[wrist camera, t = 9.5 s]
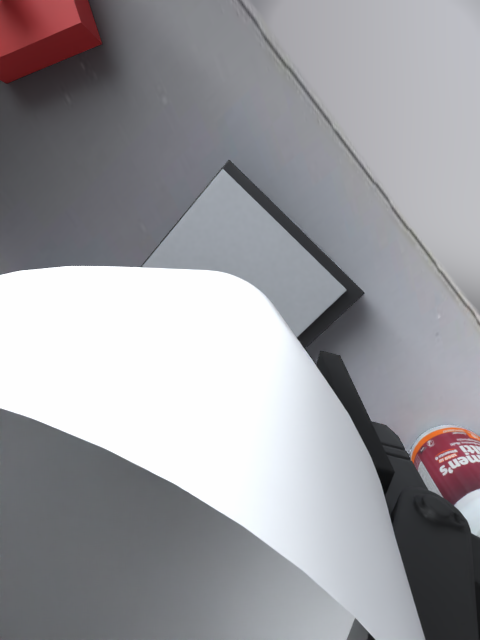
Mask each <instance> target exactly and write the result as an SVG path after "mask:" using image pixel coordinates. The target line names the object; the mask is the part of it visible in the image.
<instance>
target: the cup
mask: <svg viewBox="0 0 480 640" xmlns="http://www.w3.org/2000/svg"><path fill="white" fill-rule="evenodd" d="M355 618H356V619H357V620H358V621H359V622H360V623H361V625H362V626H363V627H364V628H365V629H366V630H367V631H368V632H369V633H370V634H371V635H372V636H373V638H374V639H375V640H425V636H424V633H423V630H422V627H421V623H420V620H419V617H418V613H417V610H416V606H415V603H414V600H413V596H412V593H411V589H410V586H409V583H408V579H407V576H406V572H405V569H404V565H403V562H402V559H401V555H400V552H399V548H398V545H397V542H396V538H395V534H394V531H393V527H392V523H391V519H390V515H389V511H388V507H387V503H386V500H385V496H384V492H383V489H382V485H381V482H380V479H379V477H378V474H377V471H376V469H375V466H374V464H373V461H372V458H371V456H370V454H369V452H368V450H367V448H366V446H365V444H364V442H363V440H362V438H361V437H360V435H359V433H358V431H357V429H356V427H355V425H354V423H353V421H352V419H351V418H350V416H349V414H348V412H347V411H346V409H345V408H344V406H343V405H342V403H341V402H340V400H339V399H338V397H337V396H336V394H335V393H334V391H333V390H332V388H331V387H330V385H329V384H328V382H327V381H326V379H325V378H324V376H323V375H322V374H321V372H320V371H319V369H318V368H317V366H316V365H315V363H314V362H313V360H312V359H311V358H310V356H309V355H308V353H307V352H306V350H305V349H304V348H303V346H302V345H301V343H300V342H299V340H298V339H297V338H296V336H295V335H294V333H293V332H292V330H291V329H290V328H289V326H288V325H287V323H286V322H285V321H284V319H283V318H282V316H281V315H280V313H279V312H278V311H277V309H276V308H275V306H274V305H273V304H272V302H271V301H270V300H269V299H268V298H267V297H266V296H265V295H264V294H263V293H262V292H261V291H260V290H258V289H257V288H256V287H255V286H253V285H252V284H250V283H249V282H247V281H245V280H243V279H241V278H239V277H236V276H234V275H231V274H228V273H224V272H219V271H211V270H190V269H166V268H141V267H108V266H66V267H55V268H45V269H35V270H25V271H17V272H12V273H8V274H3V275H0V640H347V637H348V635H349V632H350V630H351V627H352V625H353V622H354V619H355Z"/></svg>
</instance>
